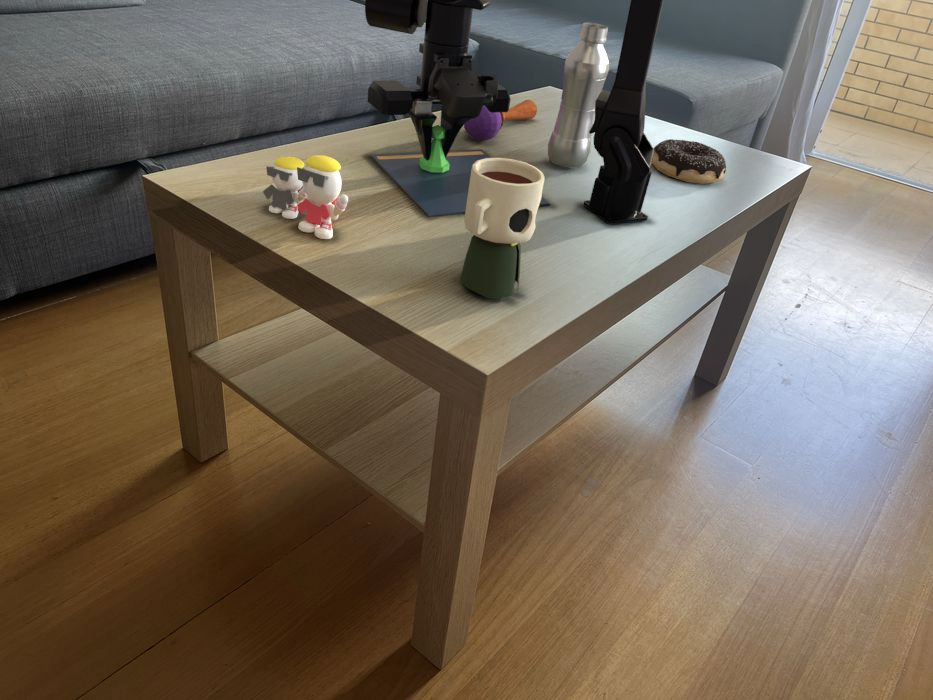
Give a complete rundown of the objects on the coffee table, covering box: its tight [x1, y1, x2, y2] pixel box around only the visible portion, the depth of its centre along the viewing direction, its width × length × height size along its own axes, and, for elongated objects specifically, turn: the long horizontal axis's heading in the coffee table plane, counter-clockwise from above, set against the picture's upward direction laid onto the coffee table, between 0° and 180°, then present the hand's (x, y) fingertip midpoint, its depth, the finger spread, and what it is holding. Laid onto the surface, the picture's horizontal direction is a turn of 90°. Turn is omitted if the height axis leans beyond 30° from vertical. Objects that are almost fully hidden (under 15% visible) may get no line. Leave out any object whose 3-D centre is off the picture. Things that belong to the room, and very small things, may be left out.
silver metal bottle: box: [547, 22, 610, 169], centre depth 105 cm, size 6×7×20 cm
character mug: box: [459, 157, 546, 299], centre depth 73 cm, size 11×7×13 cm, turn 149°
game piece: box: [419, 124, 449, 173], centre depth 100 cm, size 4×4×6 cm
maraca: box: [463, 99, 538, 142], centre depth 119 cm, size 6×6×20 cm
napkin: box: [370, 149, 551, 217], centre depth 100 cm, size 18×20×1 cm
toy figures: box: [262, 154, 349, 240], centre depth 81 cm, size 12×4×8 cm, turn 49°
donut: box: [651, 138, 727, 185], centre depth 114 cm, size 11×12×4 cm
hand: (434, 158), depth 101 cm, fingers closed on game piece, 2 cm apart
